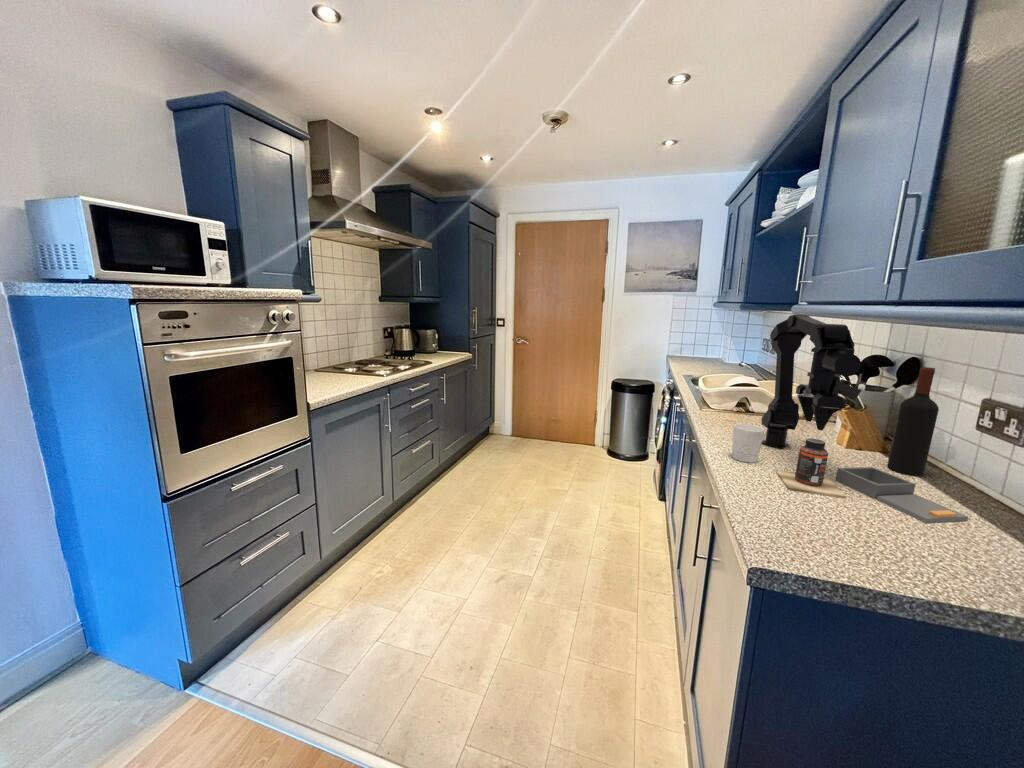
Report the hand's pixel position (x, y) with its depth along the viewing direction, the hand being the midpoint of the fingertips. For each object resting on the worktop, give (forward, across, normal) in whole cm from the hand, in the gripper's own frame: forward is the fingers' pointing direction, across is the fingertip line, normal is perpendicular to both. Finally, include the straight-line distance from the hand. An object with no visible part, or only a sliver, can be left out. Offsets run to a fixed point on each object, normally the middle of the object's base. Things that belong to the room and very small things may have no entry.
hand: (814, 425), depth 113 cm
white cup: (+13, +2, +15) cm, 20 cm away
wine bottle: (+13, +10, -27) cm, 32 cm away
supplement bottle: (+13, -12, +3) cm, 18 cm away
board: (+13, -12, +3) cm, 18 cm away
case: (+13, -13, -14) cm, 24 cm away
